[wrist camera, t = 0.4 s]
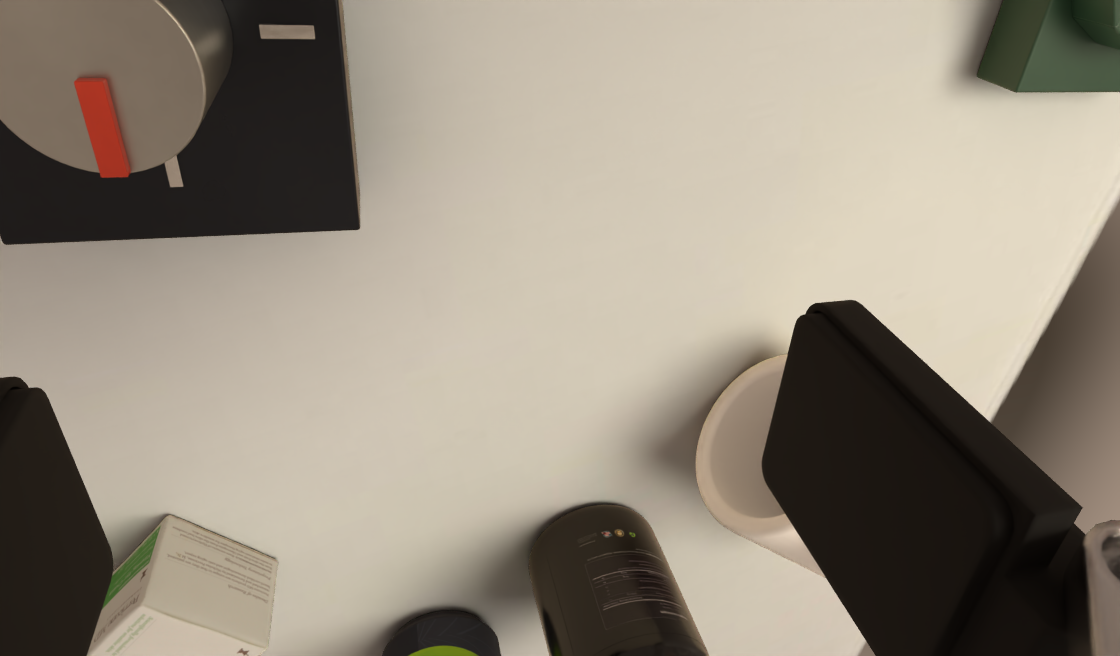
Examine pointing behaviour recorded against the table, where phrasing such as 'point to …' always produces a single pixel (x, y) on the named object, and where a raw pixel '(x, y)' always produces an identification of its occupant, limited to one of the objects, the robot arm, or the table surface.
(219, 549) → the small box
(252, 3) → the dial panel
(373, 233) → the table surface
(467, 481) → the table surface
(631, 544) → the supplement bottle
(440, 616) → the beverage can
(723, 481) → the mug
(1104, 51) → the button box
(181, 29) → the dial
